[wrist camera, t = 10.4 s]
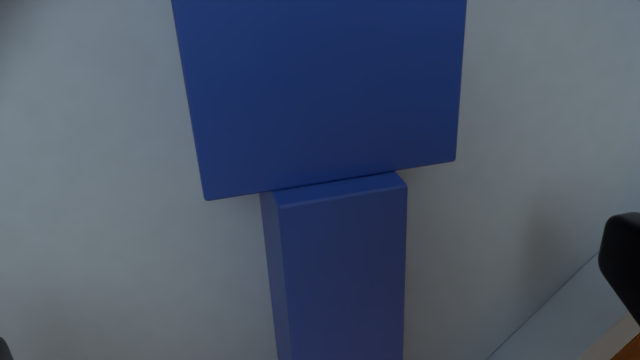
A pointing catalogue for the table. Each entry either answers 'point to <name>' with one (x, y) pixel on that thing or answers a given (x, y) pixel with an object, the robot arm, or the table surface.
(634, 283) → the robot arm
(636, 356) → the table surface
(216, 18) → the blue stepped bar
